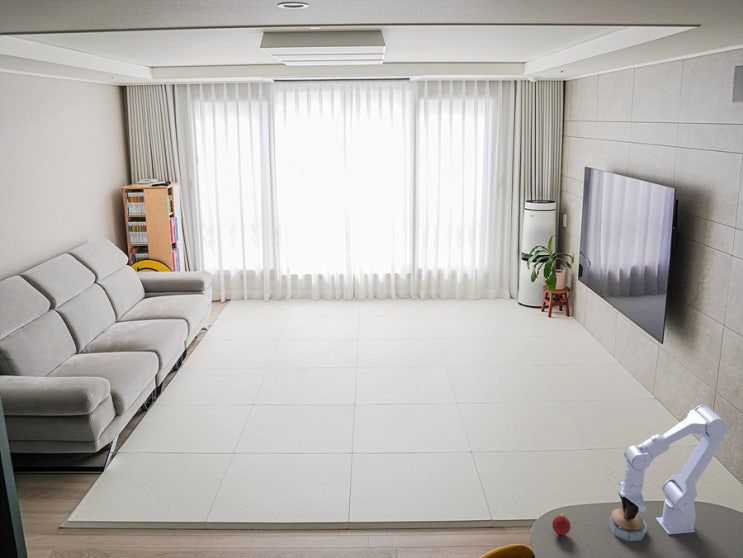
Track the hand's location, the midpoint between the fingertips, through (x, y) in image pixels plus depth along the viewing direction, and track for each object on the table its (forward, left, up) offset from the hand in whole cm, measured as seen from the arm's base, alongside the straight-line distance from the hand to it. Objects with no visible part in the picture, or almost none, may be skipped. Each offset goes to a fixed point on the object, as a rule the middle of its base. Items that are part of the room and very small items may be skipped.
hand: (628, 515), depth 216 cm
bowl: (0, 0, -6) cm, 6 cm away
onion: (+23, -1, -6) cm, 24 cm away
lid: (+1, 0, -2) cm, 2 cm away
